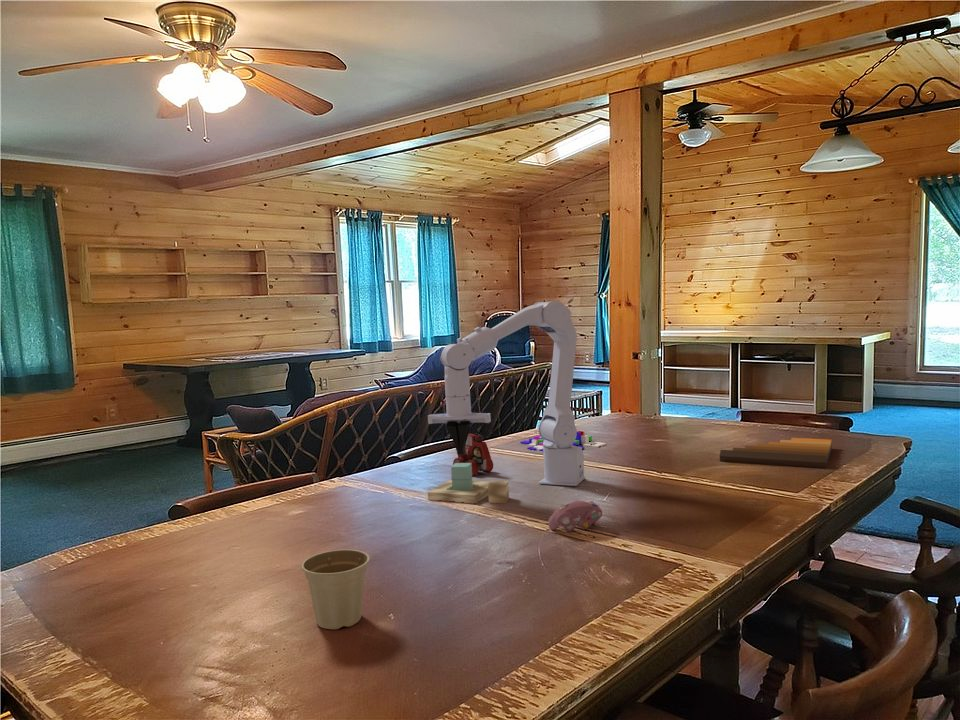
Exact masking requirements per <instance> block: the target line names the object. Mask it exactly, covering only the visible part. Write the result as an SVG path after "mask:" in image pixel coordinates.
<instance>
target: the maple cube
mask: <svg viewBox="0 0 960 720" xmlns="http://www.w3.org/2000/svg"><path fill="white" fill-rule="evenodd" d="M489 482H490V483H489V485H488V496H487V497H488V503H489V504H490V503H491V504H492V503H493V504H497V503H498V504H504V503H505V504H507V503H508V501H509V498H510V495H509V493H510V492H509V491H510V489H509V480H490V481H489Z"/></svg>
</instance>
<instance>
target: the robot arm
mask: <svg viewBox="0 0 960 720" xmlns="http://www.w3.org/2000/svg"><path fill="white" fill-rule="evenodd" d="M571 315H572V311H571V309H569V308H568V307H567V306H566V305H565V303H563V302H561V301H559V300H551V301H537V302H535V303H534V304H532V305H529V306H526V307H524V308H522V309H520V310H518V311H517V312H516V313H514V314H513V315H511V316H509V317H507V318H506V319H504V320H502V321H501V322H499V323H498V324H496V325H495V326H493V327H491V328H490V327H487V326H483V327H481V326H477V327H475V328H473V332H472V333H470V334H468V335H466V336H464V337H463V338H462V337H459V338H456V341H457V343H449V344H447V345H446V346H445V347H444V348H443V350H442V351H441V354H440V356H439V360H440V362H441V363H442V365H443V366H444V391H445V392H444V393H445V394H444V395H445V406H446V407H445V409H446V411H445V413H434V414H428V415H427V423H428V425H433V424H446V430H447V431H448V434H449V435H450V437H451V439H452V440H453V444H454V446H455V451H456V454H457V455H458V454H464V453H465V446H466V441H467V437H468V434H470V431H471V428H472V426H473V423H485V424H490V423H491V421H492V419H491V413H490V412H487V413H486V412H472V403H471V402H472V401H471V385H470V383H471V382H470V374H469V373H470V371H469V366H471V363H472V361H476V360H477V359H479V358H481V357H482V356H484V355H486V354H488V353H489V352H491V351H493V350H495V349H496V348H497V345H498V342H499V340H502V339H503V338H505V337H507V336H510V335H511V334H513V333H515V332H517V331H519V330H521V329H522V328H525V327H527V326H535V327H536V328H537V329H540V330H542V331H543V332H545V333H546V334H547V335H548V336H549V337H550V338H551V339H552V340H553V351H552V359H551V360H552V362H551V372H550V383H549V391H548V404H547V406H546V407H545V408H544V410H543V412H542V413H543V414H542V418H541V420H540V422H539V424H538V428H537V431H538V434H539V435H538V436H541V438H543V452H542V453H543V473H544V477H543V478H542V479H541V480H539V481H538V484H541V485H554V486H555V485H556V486H570V487H576V486H578V485H579V484H580V483H581V482H583V480H585V479H586V476H585V463H584V461H585V460H584V457H585V456H584V449H583V450H582V448H581V447H582V446H579V447H578V446H573V442H574V441H575V439H576V436H577V431H578V430H577V427H576V425H575V419H576V416H575V414H574V411H572V409H571V402H572V391H573V382H574V380H573V379H574V372H575V361H576V349H577V340H578V338H577V337H578V334H577V331H576V328H575V325H574V323H573V320H572V317H571Z"/></svg>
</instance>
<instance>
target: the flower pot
mask: <svg viewBox="0 0 960 720" xmlns="http://www.w3.org/2000/svg"><path fill="white" fill-rule="evenodd" d="M370 561H371V559H370V555H369V554H368V553H367V552H365V551H361V550H357V549H335V550H326V551H322V552H320V553H319V552H318V553H315V554H313V555H311V556H309V557H308V558H306V559H305V560H303V562H302V563H301V570H302V571H303V572H304V576H305V578H306V580H307V581H308V585H309V592H310V595H311V600H312V604H313V605H312V606H313V611H314V616H315V622H316V623H317V625H318V626H319V627H320V628H322V629H326V630H327V629H328V630H339V629H340V628H342V627H348V628H350V627H352V626H354V625H355V624H357V623H358V622H359V621H360V620H361V618H362V611H363V598H364V597H363V596H364V587H365V586H364V585H365V576H366V572H367V569H368V568H367V567H368V565H369V563H370Z"/></svg>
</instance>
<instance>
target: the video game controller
mask: <svg viewBox="0 0 960 720" xmlns="http://www.w3.org/2000/svg"><path fill="white" fill-rule="evenodd" d="M602 516H603V510H602V509H601V508H600V506H599V505H598V504H596V503H595V502H594V500H590V501H588V502H587V501H584V500H575V501H572V502H570V503H567V504H561V505H560V506H558V507H557V508H556V509H555V510H554V512H553V513H552V514H551V516H549V517H548V523H547V524H548V528H549V529H550V530H552V531H554V530H557V529H559V527H563V528H564V530H565V532H567V533H569V532H573V531H574V530H575V528H576V526H577V525H576V522H575V521H574V520H576V519H578V521H577V524H578V525H579V528H580V529H581V530H587V529H589V528H590V527H591V525H593V524H596V523H598V521H599V520H600V519H601V517H602Z"/></svg>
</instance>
